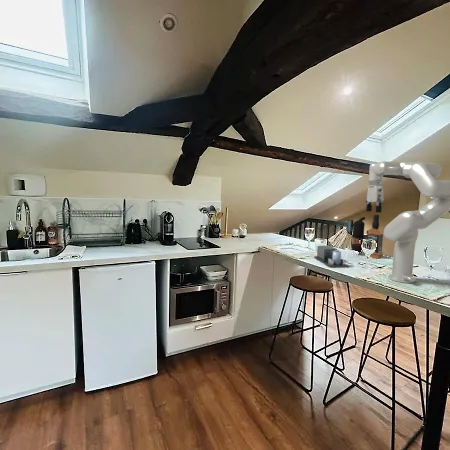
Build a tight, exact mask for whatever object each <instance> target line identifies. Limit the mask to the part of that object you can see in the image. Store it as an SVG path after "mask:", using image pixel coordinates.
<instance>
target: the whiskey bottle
mask: <svg viewBox="0 0 450 450" xmlns="http://www.w3.org/2000/svg"><path fill="white" fill-rule="evenodd" d="M372 217H373V218H372V224H371V228H369V229H368V230H366V240H367V239H373V240H375V241H376V243H377V247H376V250H375V252H374V253H373V254H371V255H370V257H372V258H371V259H375V258H376V259H375V260H377V259H378V260H379V259H381V258H383V238H384V230H382V229H381V228H380V222H379V220H380V214H373V216H372Z"/></svg>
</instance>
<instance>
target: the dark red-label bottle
mask: <svg viewBox="0 0 450 450" xmlns="http://www.w3.org/2000/svg"><path fill="white" fill-rule="evenodd" d="M365 220H366V217H365V216H362V217H360V218H359V219H357V220H355V221H353V223H352V224H350V227H352V236H351V238H353V239H355V242H354V243H352V244H351V250H355V251H358V252H359V254H360V253H362V252H361V250H362V249H361V239H364V238H365V226H366V225H365V222H364V221H365Z"/></svg>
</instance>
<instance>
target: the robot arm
mask: <svg viewBox="0 0 450 450" xmlns="http://www.w3.org/2000/svg"><path fill="white" fill-rule="evenodd" d="M442 171H443V170H442V166H441V165H440V164H438V163H435V162H429V161H408V162H404V161H403V162H402V161H399V162H398V161H386V160H385V161H381V162H373V163H371V164H370V165H369V171H368V172H369V174H368V188H367V194H366V197H365V199H364V200H365V205H366V209H365V210H366V212H372V210H373V205H372V204H373V203H375V204H376V205H375V213H382V207H383V204H384V201H385V198H384V187H383V182H384V176H386V175H387V176H388V175H389V176H404V177H405V178H407V179H411V181H412V182H413V183H414V185H415V186H416V188H417V190H418V191H419V192H420V193H421V195H422V196H424V197H425V198H429V199H433V200H431V201H429V202H428V203H426V204H425V205H424V206H422V207H421V208H420V209H418V210H407V211H403V212H401V213H399V214H398V215H397V216H396V217H395V218H394V219H392V220H391V221H390V222H389V223H388V224H386V225H385V226H384V229H383V231H384V234H383V237H384V238H385V239H386V240H387V241H390V242H395V243H394V246H393V247H394V248H393V255H392V257H393V258H392V269H391V274H388V279H390V280H391V281H394V282H397V283H403V284H404V283H405V284H412V283H416V281H417V278H416V277H414V273H413V270H414V263H415V262H414V260H415V259H414V258H415V249H416V244H417V240H418V237H419V230H423V229H427V228H428V227H429V226H430V225H432V224H433V223H434V222H436V221H438V220H439V219H440V218H441V217H443V216H444V215H445V214H448V213H449V212H450V179H437V178H439V177H440V176H441V174H442Z"/></svg>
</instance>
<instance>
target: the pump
mask: <svg viewBox="0 0 450 450" xmlns="http://www.w3.org/2000/svg"><path fill="white" fill-rule="evenodd" d="M341 259H342V252H341V251H340V250H338V249H337V250H335V251H333V259H332V260H334V263H333V264H336V265H340V263H341Z"/></svg>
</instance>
